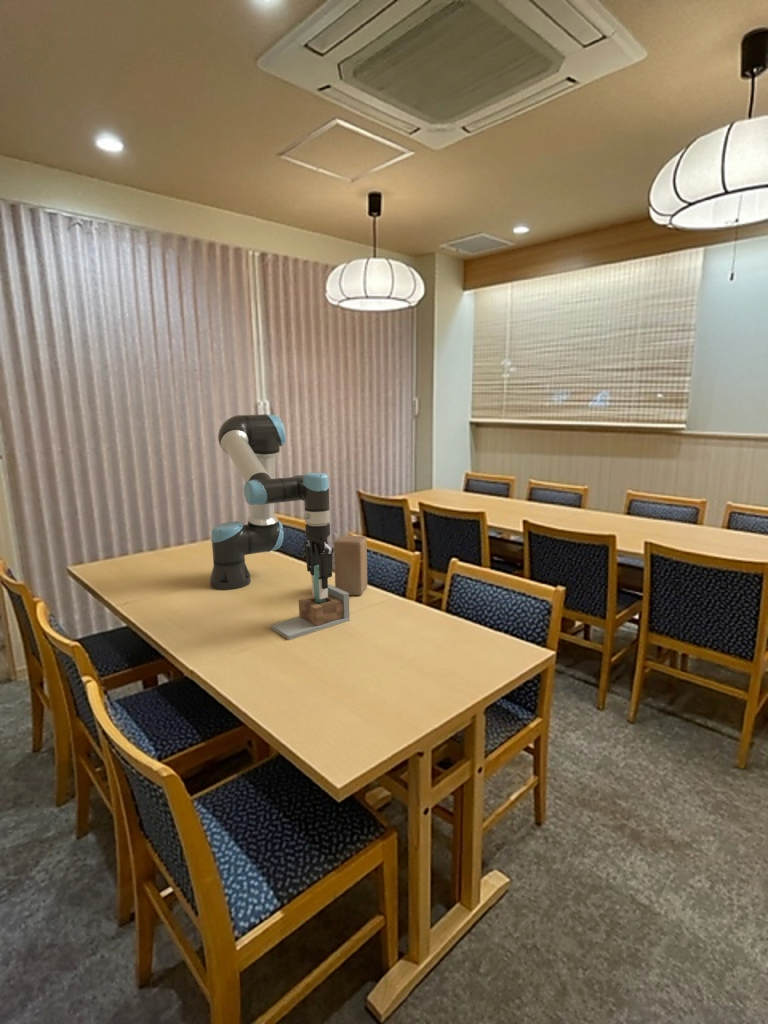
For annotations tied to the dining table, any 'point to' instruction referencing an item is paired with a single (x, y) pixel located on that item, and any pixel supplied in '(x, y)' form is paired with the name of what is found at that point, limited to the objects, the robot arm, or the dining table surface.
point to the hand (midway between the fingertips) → (320, 596)
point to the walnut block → (320, 610)
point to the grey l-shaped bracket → (303, 627)
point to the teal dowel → (317, 585)
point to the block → (351, 564)
